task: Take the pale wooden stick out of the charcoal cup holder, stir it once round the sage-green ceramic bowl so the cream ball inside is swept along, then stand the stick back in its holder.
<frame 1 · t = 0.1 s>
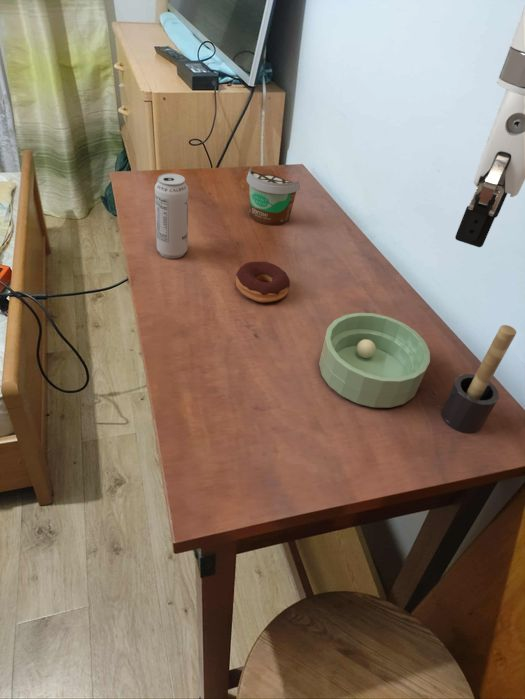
hand: (476, 227, 63), 26 cm above the table, tool pointing down, fingers open, 9 cm apart
donut: (261, 290, 95), on the table
stick: (462, 415, 74), resting on holder
ball: (365, 348, 81), point 2 cm above the table, touching bowl
bowl: (368, 373, 80), on the table
holder: (461, 417, 75), on the table
food container: (265, 221, 116), on the table
energy drink can: (172, 252, 101), on the table
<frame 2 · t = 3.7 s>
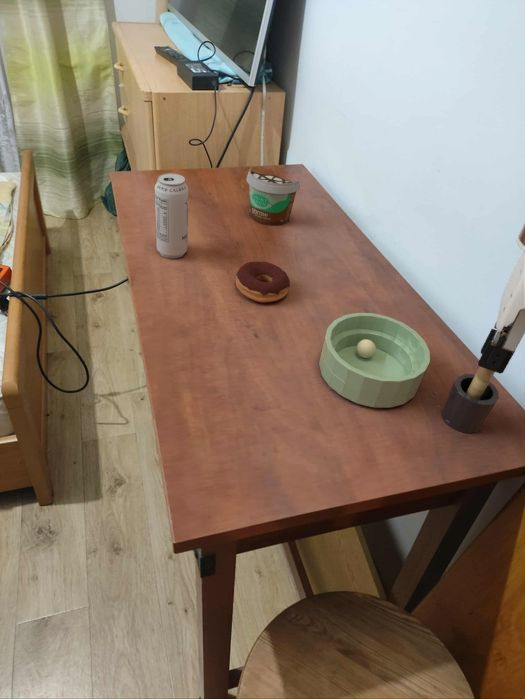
hand: (491, 361, 67), 11 cm above the table, tool pointing down, fingers closed on stick, 2 cm apart
stick: (462, 415, 74), point 1 cm above the table, touching gripper, holder
everything else where it was.
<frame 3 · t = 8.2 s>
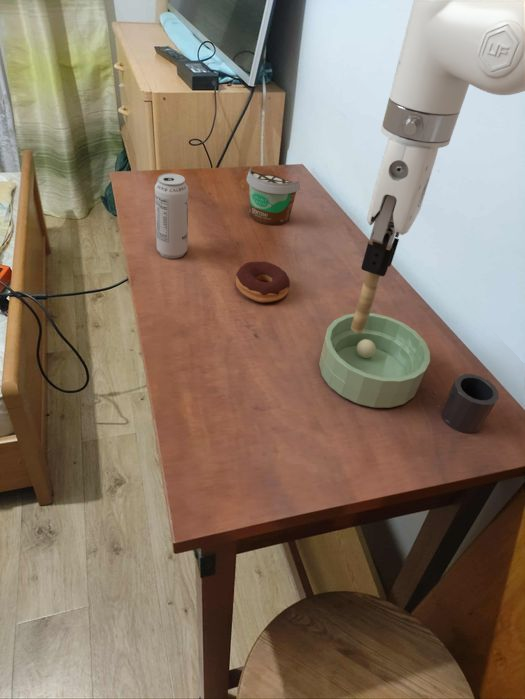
hand: (376, 266, 67), 19 cm above the table, tool pointing down, fingers closed on stick
stick: (357, 328, 74), point 9 cm above the table, touching gripper
everything else where it was.
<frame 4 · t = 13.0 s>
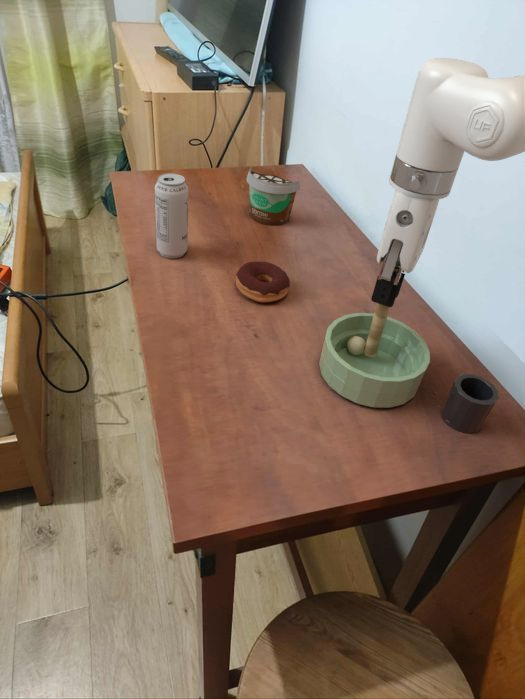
hand: (384, 298, 74), 12 cm above the table, tool pointing down, fingers closed on stick, 2 cm apart
stick: (370, 353, 81), point 2 cm above the table, touching ball, gripper
ball: (356, 345, 81), point 2 cm above the table, tilted 51°, touching bowl, stick
everything else where it was.
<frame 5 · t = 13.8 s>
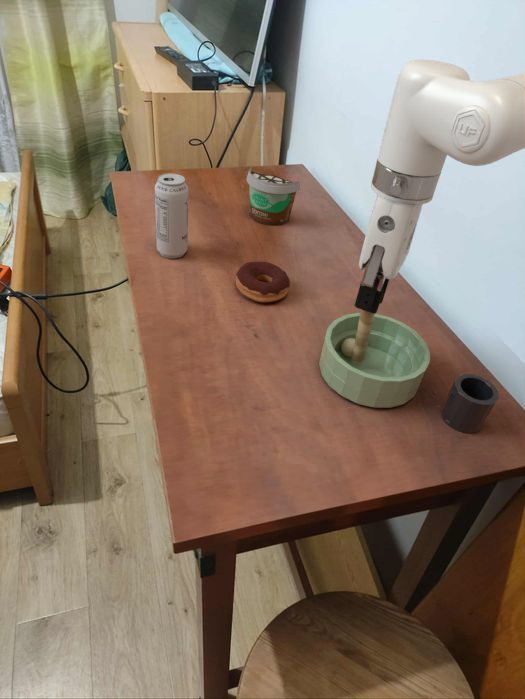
hand: (368, 303, 73), 12 cm above the table, tool pointing down, fingers closed on stick, 2 cm apart
stick: (357, 360, 79), point 2 cm above the table, touching gripper
ball: (350, 347, 81), point 2 cm above the table, tilted 48°, touching bowl
everything else where it was.
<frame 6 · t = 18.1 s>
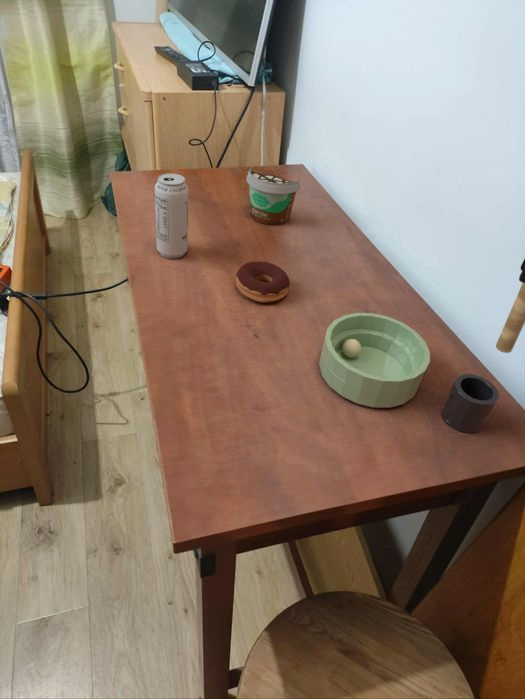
stick: (503, 348, 66), point 14 cm above the table, touching gripper
ball: (351, 348, 81), point 2 cm above the table, tilted 40°, touching bowl
everything else where it was.
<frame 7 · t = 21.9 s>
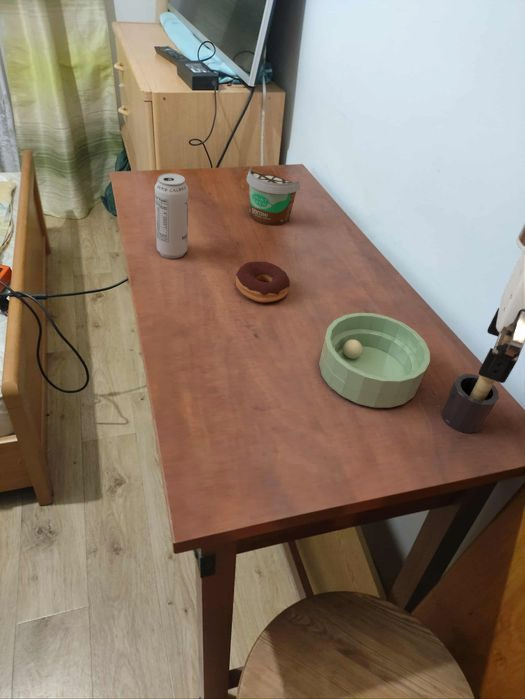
hand: (494, 355, 67), 12 cm above the table, tool pointing down, fingers open, 9 cm apart
stick: (467, 416, 74), point 1 cm above the table, touching holder
ball: (352, 349, 81), point 2 cm above the table, tilted 34°, touching bowl
everything else where it was.
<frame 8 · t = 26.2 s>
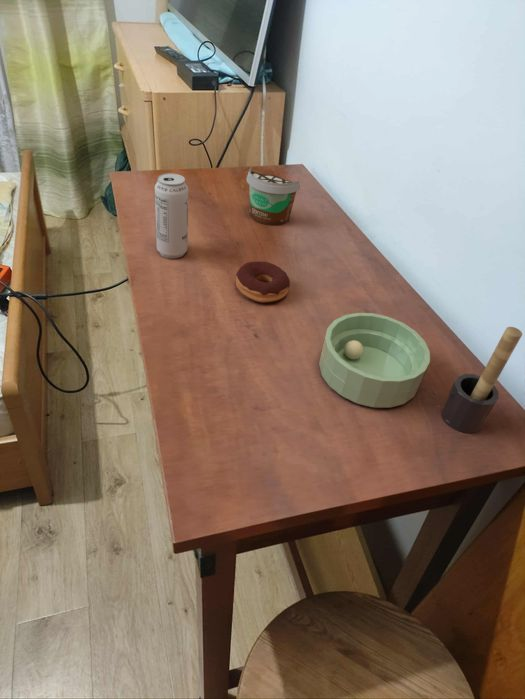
ball: (353, 349, 81), point 2 cm above the table, tilted 27°, touching bowl
everything else where it was.
at the end: ball moved 2.1 cm from its start; ball inside the target area in the bowl (3.8 cm from its centre), point 2.1 cm above the bowl's base; stick 0.7 cm off-centre in the holder, point 0.5 cm above the holder's base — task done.
